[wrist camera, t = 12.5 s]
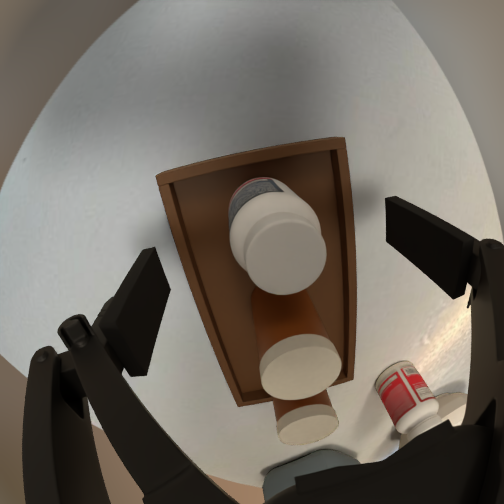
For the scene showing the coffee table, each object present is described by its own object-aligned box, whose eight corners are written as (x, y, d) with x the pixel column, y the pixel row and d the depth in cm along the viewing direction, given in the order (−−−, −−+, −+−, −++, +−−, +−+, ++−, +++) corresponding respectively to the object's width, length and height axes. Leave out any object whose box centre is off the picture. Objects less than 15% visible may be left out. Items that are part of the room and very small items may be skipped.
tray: (161, 172, 20) (155, 175, 18) (335, 136, 20) (345, 137, 18) (236, 394, 30) (237, 407, 28) (348, 368, 30) (353, 379, 28)
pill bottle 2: (374, 395, 34) (402, 454, 24) (374, 371, 31) (408, 437, 21) (410, 378, 33) (443, 432, 23) (414, 352, 31) (454, 411, 21)
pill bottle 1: (217, 228, 22) (213, 287, 13) (244, 165, 20) (256, 186, 12) (279, 251, 23) (307, 316, 15) (308, 193, 21) (356, 231, 13)
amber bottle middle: (243, 280, 24) (253, 358, 15) (304, 266, 24) (342, 336, 15) (255, 327, 26) (268, 406, 17) (309, 314, 26) (340, 388, 17)
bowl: (391, 446, 45) (403, 475, 37) (384, 417, 37) (402, 456, 29) (460, 404, 43) (476, 429, 35) (470, 361, 35) (495, 392, 27)
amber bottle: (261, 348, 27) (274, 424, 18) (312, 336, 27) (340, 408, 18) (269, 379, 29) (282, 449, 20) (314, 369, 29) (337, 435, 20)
